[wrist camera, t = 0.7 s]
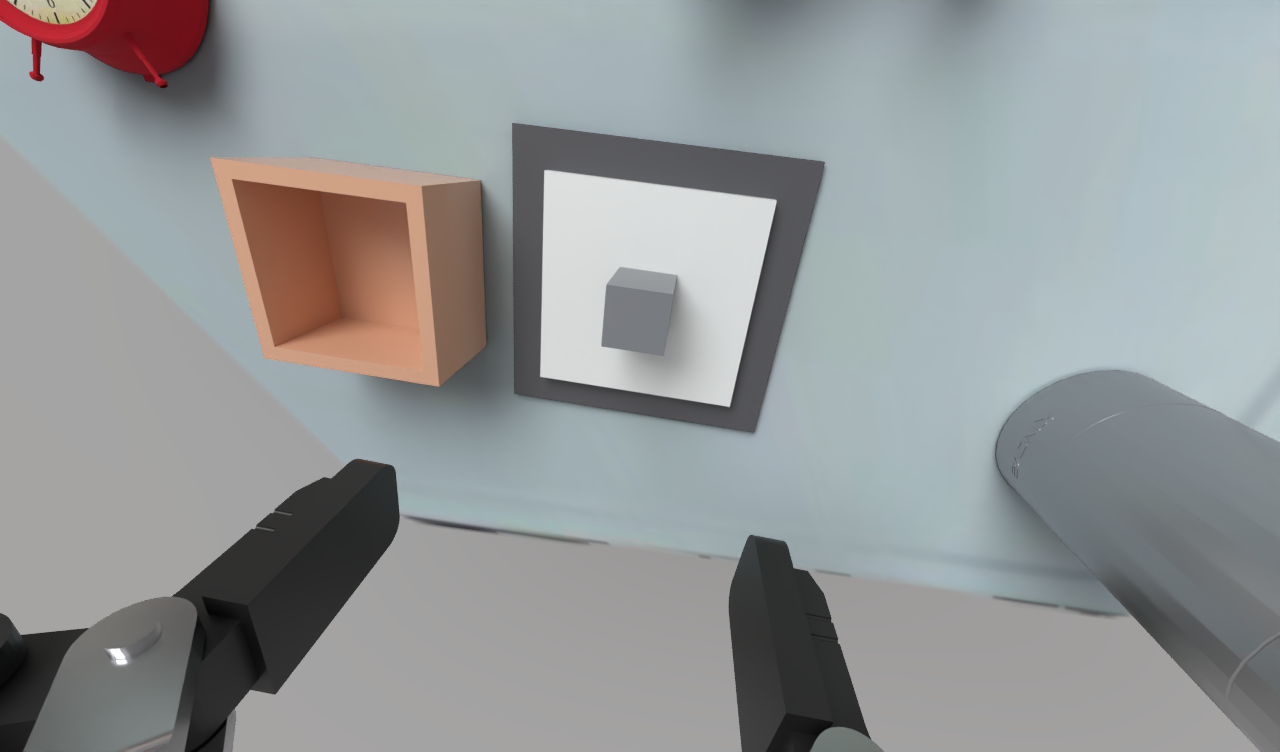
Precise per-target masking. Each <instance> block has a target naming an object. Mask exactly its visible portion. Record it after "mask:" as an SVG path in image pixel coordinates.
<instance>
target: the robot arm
mask: <svg viewBox="0 0 1280 752" xmlns="http://www.w3.org/2000/svg"><path fill="white" fill-rule="evenodd" d="M996 458H997V464H998V468H999V470H1000V472H1001V473H1002V475H1003V477H1004V478H1005V480H1006V481H1007V482H1008V483H1009V484H1010V485H1011V486H1012V487H1013V488H1014V489H1015V490H1016V491H1017V492H1018V493H1019V495H1020V496H1021V497H1022V498H1023V499H1024V500H1025V501H1026V502H1027V503H1028V504H1029V505H1030V506H1031V508H1032V509H1033V510H1034V511H1035V512H1036V513H1037V514H1038V515H1039V516H1040V517H1041V518H1042V519H1043V520H1044V522H1045V523H1046V524H1047V525H1048V526H1049V527H1050V528H1051V529H1052V531H1053V532H1054V533H1055V534H1056V535H1057V536H1058V537H1059V538H1060V539H1061V540H1062V541H1063V542H1064V543H1065V544H1066V545H1067V547H1068V548H1069V549H1070V550H1071V551H1072V552H1073V553H1074V554H1075V555H1076V556H1077V557H1078V558H1079V559H1080V560H1081V561H1082V563H1083V564H1084V565H1085V566H1086V567H1087V568H1088V569H1089V570H1090V571H1091V572H1092V573H1093V574H1094V575H1095V576H1096V577H1097V579H1098V580H1099V581H1100V582H1101V583H1102V584H1103V585H1104V586H1105V587H1106V588H1107V589H1108V590H1109V591H1110V592H1111V593H1112V595H1113V596H1114V597H1115V598H1116V599H1117V600H1118V601H1119V602H1120V603H1121V604H1122V605H1123V606H1124V607H1125V608H1126V609H1127V611H1128V612H1129V613H1130V614H1131V615H1132V616H1133V617H1134V618H1135V619H1136V620H1137V621H1138V622H1139V623H1140V624H1141V625H1142V626H1143V628H1145V630H1146V631H1147V632H1148V633H1149V634H1150V635H1151V636H1152V637H1153V638H1154V639H1155V640H1156V641H1157V642H1158V644H1159V645H1160V646H1161V647H1162V648H1163V649H1164V650H1165V651H1166V652H1167V653H1168V654H1169V655H1170V656H1171V657H1172V658H1173V659H1174V661H1175V662H1176V663H1177V664H1178V665H1179V666H1180V667H1181V668H1182V669H1183V670H1184V671H1185V672H1186V673H1187V674H1188V676H1190V678H1191V679H1192V680H1193V681H1194V682H1195V683H1196V684H1197V685H1198V686H1199V687H1200V688H1201V689H1202V690H1203V691H1204V693H1205V694H1206V695H1207V696H1208V697H1209V698H1210V699H1211V700H1212V701H1213V702H1214V703H1215V704H1216V705H1217V706H1218V708H1219V709H1221V711H1222V712H1223V713H1224V714H1225V715H1226V716H1227V717H1228V718H1229V719H1230V720H1231V721H1232V722H1233V723H1234V725H1235V726H1236V727H1238V728H1239V729H1240V730H1241V731H1242V733H1243V734H1244V735H1245V736H1246V737H1247V738H1248V739H1249V740H1250V741H1251V742H1252V743H1253V744H1254V745H1255V746H1256V747H1257V748H1258V749H1259V750H1260V752H1280V442H1278V441H1276V440H1274V439H1272V438H1270V437H1268V436H1266V435H1264V434H1262V433H1260V432H1258V431H1256V430H1254V429H1252V428H1250V427H1248V426H1246V425H1244V424H1242V423H1240V422H1238V421H1235V420H1233V419H1231V418H1229V417H1227V416H1226V415H1224V414H1222V413H1220V412H1218V411H1216V410H1214V409H1212V408H1210V407H1208V406H1206V405H1204V404H1202V403H1200V402H1198V401H1196V400H1194V399H1192V398H1190V397H1188V396H1186V395H1184V394H1181V393H1179V392H1177V391H1175V390H1173V389H1171V388H1169V387H1167V386H1165V385H1163V384H1161V383H1159V382H1157V381H1155V380H1153V379H1151V378H1148V377H1145V376H1143V375H1140V374H1138V373H1132V372H1126V371H1120V370H1113V371H1095V372H1090V373H1084V374H1079V375H1076V376H1073V377H1070V378H1067V379H1064V380H1061V381H1058V382H1056V383H1054V384H1053V385H1051V386H1049V387H1047V388H1045V389H1043V390H1041V391H1039V392H1038V393H1037V394H1035V395H1034V396H1032V397H1031V398H1030V399H1028V400H1027V401H1025V402H1024V403H1023V404H1022V405H1021V406H1020V407H1019V408H1018V409H1017V410H1016V411H1015V412H1014V413H1013V414H1012V416H1011V417H1010V419H1009V420H1008V421H1007V423H1006V424H1005V426H1004V427H1003V429H1002V432H1001V434H1000V437H999V439H998V443H997V450H996ZM399 518H400V516H399V504H398V493H397V481H396V472H395V469H394V467H393V466H392V465H388V464H383V463H378V462H372V461H367V460H362V459H355V460H352V461H351V462H350V463H348V464H347V465H346V466H345V467H344V468H343V469H342V470H340V472H338V473H337V474H336V475H335V476H334V477H333V478H332V479H330V478H322V479H320V480H318V481H316V482H314V483H312V484H310V485H308V486H306V487H303V488H301V489H300V490H298V491H296V492H295V493H293V494H292V495H291V496H290V497H289V498H288V499H286V500H285V501H284V502H283V503H282V504H281V505H279V506H278V507H277V508H276V509H275V511H274V513H273V514H272V513H270V514H269V515H268V516H267V517H265V518H264V519H263V520H262V521H261V522H260V523H258V524H257V526H256V528H255V529H251V530H250V531H249V532H248V533H247V534H245V535H244V536H243V537H242V538H241V539H240V540H238V541H237V542H236V543H235V544H234V545H232V546H231V547H230V548H229V549H228V550H227V551H225V552H224V553H223V554H222V555H221V556H220V557H218V558H217V559H216V560H215V561H214V562H212V563H211V564H210V565H209V566H208V567H207V568H205V569H204V570H203V571H202V572H201V573H200V574H199V575H197V576H196V577H195V578H194V579H193V580H191V581H190V582H189V583H188V584H187V585H186V586H184V587H183V588H182V589H181V590H180V591H178V592H177V593H176V594H174V595H173V596H172V597H159V598H154V599H149V600H145V601H141V602H138V603H135V604H132V605H130V606H128V607H125V608H122V609H120V610H118V611H116V612H114V613H112V614H111V615H109V616H107V617H105V618H103V619H102V620H100V621H99V622H97V623H96V624H94V625H93V626H92V627H90V628H85V629H76V630H66V631H56V632H46V633H36V634H27V635H20V634H19V632H18V631H17V629H16V628H15V626H14V625H13V623H12V622H11V620H10V619H9V618H8V617H7V616H5V615H4V614H1V613H0V752H232V749H233V740H234V732H235V722H236V711H235V707H236V706H237V705H238V704H239V703H240V701H241V700H242V699H243V698H244V696H245V695H246V694H247V693H248V692H249V690H255V691H260V692H265V693H270V694H276V693H277V692H278V690H279V689H280V688H281V686H282V685H283V684H284V683H285V681H286V680H287V679H288V677H289V676H290V674H291V673H292V672H293V671H294V669H295V668H296V667H297V665H298V664H299V663H300V662H301V660H302V659H303V658H304V656H305V655H306V654H307V652H308V651H309V650H310V649H311V647H312V646H313V645H314V643H315V642H316V641H317V640H318V638H319V637H320V636H321V634H322V633H323V632H324V630H325V629H326V628H327V626H328V625H329V624H330V623H331V621H332V620H333V619H334V617H335V616H336V615H337V613H338V612H339V611H340V610H341V608H342V607H343V606H344V604H345V603H346V602H347V600H348V599H349V598H350V597H351V595H352V594H353V593H354V591H355V590H356V589H357V587H358V586H359V585H360V583H361V582H362V581H363V580H364V578H365V577H366V576H367V574H368V573H369V572H370V570H371V569H372V568H373V567H374V565H375V564H376V563H377V561H378V560H379V559H380V557H381V556H382V555H383V553H384V552H385V551H386V550H387V548H388V547H389V546H390V544H391V542H392V541H393V539H394V537H395V534H396V532H397V529H398V525H399ZM729 618H730V628H731V640H732V649H733V661H734V672H735V682H736V692H737V704H738V714H739V724H740V734H741V735H740V736H741V746H742V752H884V751H883V750H882V749H881V748H880V747H879V746H878V745H877V744H876V743H875V742H873V741H872V740H871V738H870V736H869V734H868V731H867V728H866V726H865V723H864V720H863V716H862V713H861V710H860V707H859V704H858V700H857V697H856V694H855V691H854V688H853V685H852V681H851V678H850V675H849V672H848V669H847V666H846V663H845V659H844V657H843V653H842V650H841V647H840V644H838V637H837V634H836V631H835V628H834V625H833V623H831V615H830V612H829V609H828V606H827V603H826V599H825V596H824V593H823V592H822V591H821V589H820V588H819V586H818V585H817V584H816V582H815V581H814V579H813V578H812V577H811V575H810V574H809V572H808V571H804V570H799V569H794V568H793V564H792V561H791V557H790V553H789V549H788V546H787V544H786V542H784V541H781V540H775V539H770V538H765V537H760V536H754V535H750V536H749V537H748V539H747V541H746V544H745V547H744V549H743V552H742V555H741V558H740V561H739V563H738V566H737V569H736V572H735V575H734V578H733V580H732V584H731V588H730V595H729Z"/></svg>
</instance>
